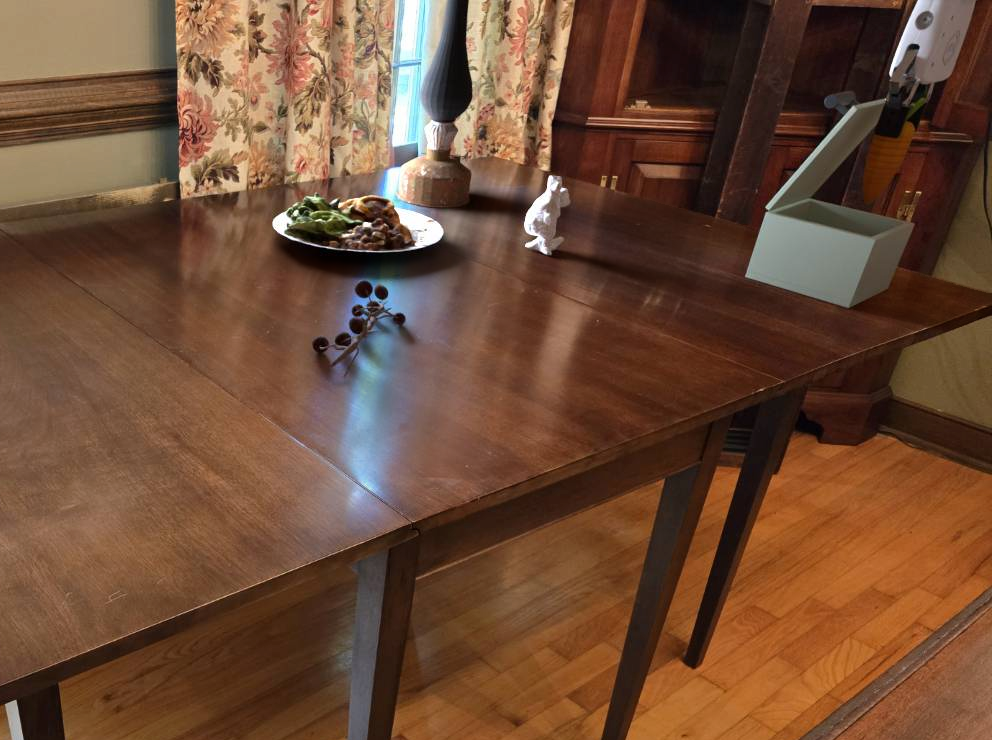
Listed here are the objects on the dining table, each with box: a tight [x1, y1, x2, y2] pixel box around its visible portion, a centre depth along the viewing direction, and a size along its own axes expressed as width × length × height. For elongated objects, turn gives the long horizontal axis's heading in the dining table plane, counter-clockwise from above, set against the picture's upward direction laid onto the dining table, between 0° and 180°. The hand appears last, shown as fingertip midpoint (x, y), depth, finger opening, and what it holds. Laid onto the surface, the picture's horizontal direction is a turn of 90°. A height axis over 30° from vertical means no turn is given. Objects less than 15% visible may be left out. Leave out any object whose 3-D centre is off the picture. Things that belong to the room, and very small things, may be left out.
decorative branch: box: [311, 279, 407, 379], centre depth 122 cm, size 11×9×30 cm
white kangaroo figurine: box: [524, 174, 571, 256], centre depth 154 cm, size 8×7×12 cm
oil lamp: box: [396, 0, 474, 209], centre depth 169 cm, size 14×15×40 cm
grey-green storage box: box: [744, 197, 916, 309], centre depth 146 cm, size 16×14×10 cm
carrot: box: [862, 98, 928, 205], centre depth 135 cm, size 5×5×15 cm
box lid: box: [765, 90, 886, 211], centre depth 142 cm, size 17×14×6 cm
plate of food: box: [272, 192, 444, 253], centre depth 157 cm, size 28×28×6 cm
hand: (895, 132), depth 134 cm, fingers closed on carrot, 5 cm apart
